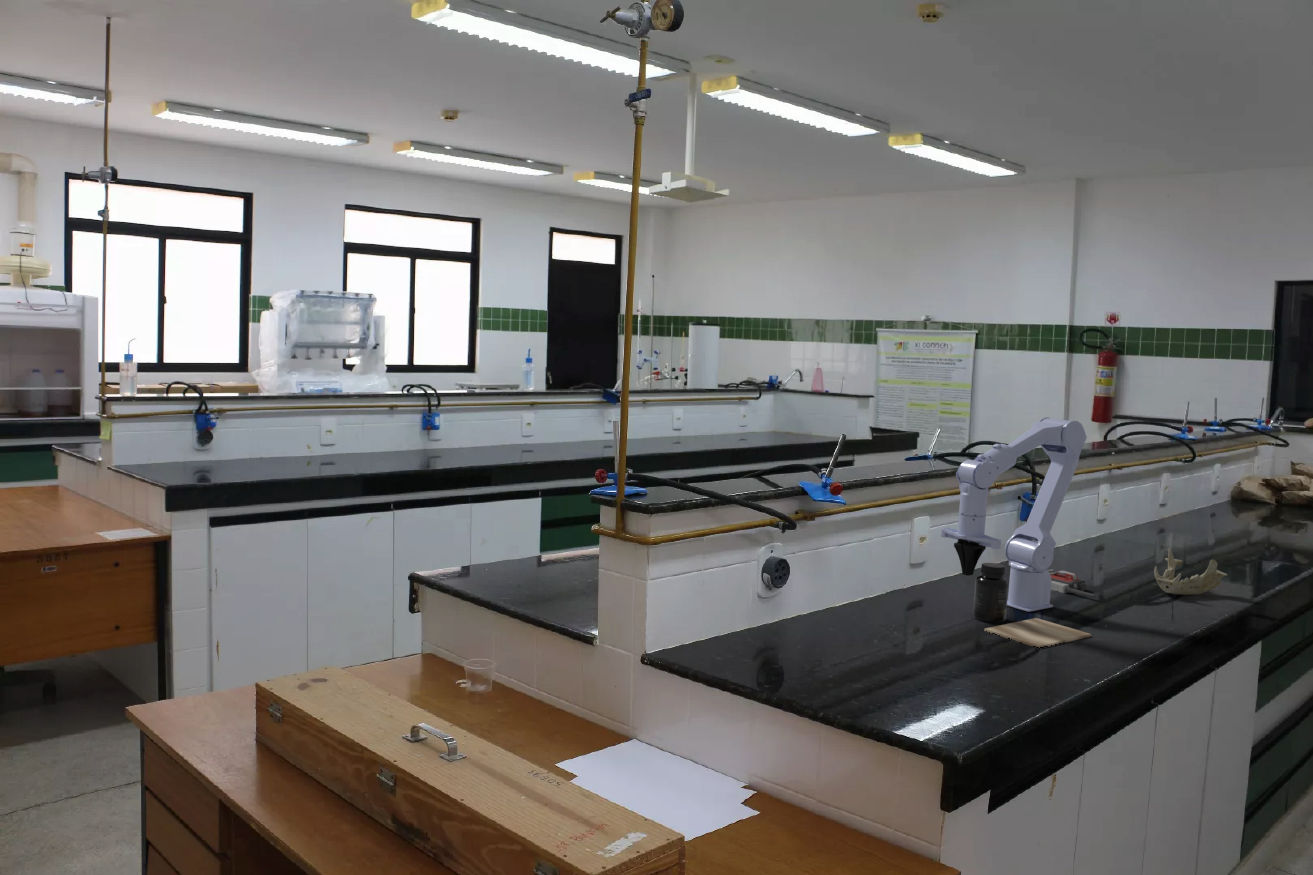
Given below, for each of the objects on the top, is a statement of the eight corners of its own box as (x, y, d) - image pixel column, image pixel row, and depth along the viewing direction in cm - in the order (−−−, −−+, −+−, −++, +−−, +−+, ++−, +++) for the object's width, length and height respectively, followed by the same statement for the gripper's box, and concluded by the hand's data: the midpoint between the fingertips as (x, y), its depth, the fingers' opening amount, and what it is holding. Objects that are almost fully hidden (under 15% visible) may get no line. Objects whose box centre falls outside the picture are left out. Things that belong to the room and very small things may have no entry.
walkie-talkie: (1020, 583, 253) (1092, 602, 236) (1022, 566, 252) (1094, 584, 236) (1042, 580, 258) (1113, 599, 241) (1043, 563, 257) (1115, 581, 241)
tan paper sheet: (1035, 620, 217) (1036, 617, 217) (1090, 636, 206) (1091, 633, 206) (984, 630, 206) (984, 628, 206) (1039, 648, 196) (1039, 645, 196)
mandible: (1195, 605, 237) (1200, 564, 236) (1130, 591, 248) (1134, 552, 247) (1227, 595, 249) (1231, 556, 248) (1164, 581, 261) (1168, 544, 260)
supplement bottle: (1001, 615, 219) (1005, 562, 218) (1008, 624, 212) (1013, 569, 211) (969, 613, 220) (973, 560, 219) (976, 622, 213) (980, 567, 212)
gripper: (934, 510, 223) (929, 569, 224) (988, 521, 211) (983, 583, 212) (954, 508, 227) (950, 566, 228) (1009, 519, 215) (1003, 580, 216)
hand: (967, 574), depth 220 cm, fingers closed
